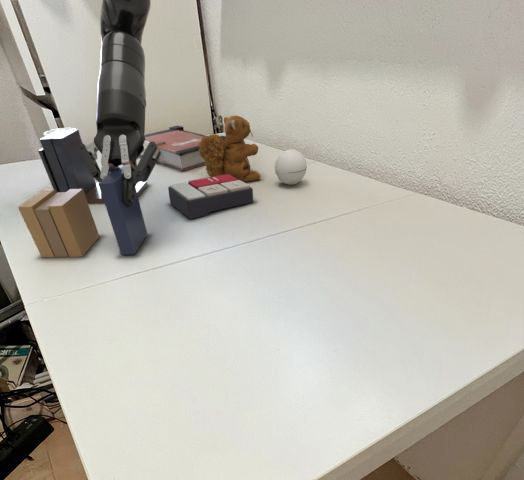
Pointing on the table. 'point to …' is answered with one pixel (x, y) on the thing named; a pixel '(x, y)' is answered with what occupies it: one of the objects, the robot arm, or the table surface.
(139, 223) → the navy book
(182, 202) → the grey and red device
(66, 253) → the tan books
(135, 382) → the table surface
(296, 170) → the seamed sphere
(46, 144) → the book stand
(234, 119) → the stuffed squirrel
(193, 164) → the book
